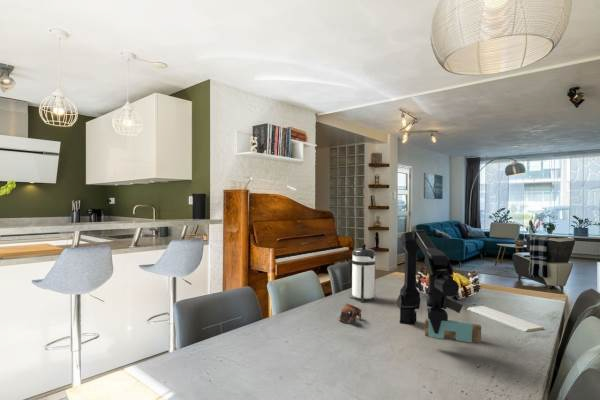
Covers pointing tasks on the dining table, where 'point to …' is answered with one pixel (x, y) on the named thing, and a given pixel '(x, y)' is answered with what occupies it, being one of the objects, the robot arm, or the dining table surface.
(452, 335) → the walnut slotted board
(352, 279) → the coffee press
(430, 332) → the teal notched plate
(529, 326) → the baseboard molding
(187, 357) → the dining table surface
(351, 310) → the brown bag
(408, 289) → the robot arm
